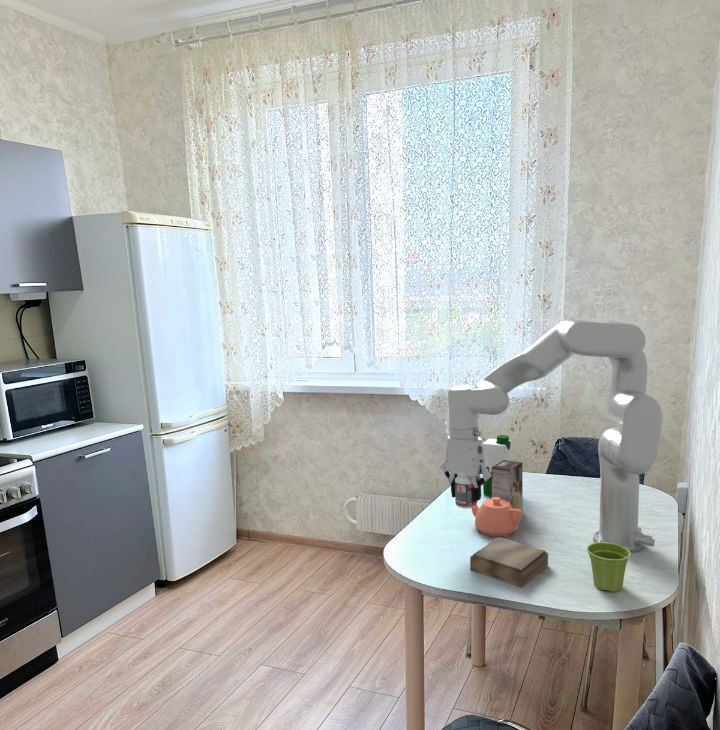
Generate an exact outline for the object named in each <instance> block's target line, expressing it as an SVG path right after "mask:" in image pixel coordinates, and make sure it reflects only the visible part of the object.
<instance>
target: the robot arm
mask: <svg viewBox="0 0 720 730" xmlns="http://www.w3.org/2000/svg"><path fill="white" fill-rule="evenodd" d="M646 341H647V339H646V335H645V332H644V331H643V330H642V328H640V327H639V326H637V325H635V324H632V323H627V322H626V323H625V322H621V321H605V322H595V321H586V320H581V319H580V320H579V319H566V320H562V321H561V322H560V323H557V324H556V325H555V326H554V327H553V328H551V329H550V330H549V331H548V332H546V334H544V335H543V336H541V337H540V338H539V339H538V340H537V341H535V342H534V343H533V344H531V345H530V346H529V347H528V348H526V349H525V350H524V351H522V352H520V353H519V354H518V355H515V356H514V357H512V358H511V359H509V360H507V361H506V362H504V363H503V364H501V365H499V366H498V367H496V368H495V369H494V370H492V371H491V372H490V373H489V374H487V375H486V376H484V378H483V379H481V380H480V381H478V383H477V384H476V386H474V387H473V386H470V385H455V386H452V387H450V388H449V389H448V392H447V401H448V402H447V403H448V405H447V407H448V429H449V430H448V432H449V436H448V437H447V440H446V446H445V448H446V449H445V461H444V462H443V463H441V465H440V467H439V468H440V470H441V471H442V472H443V474H444V476H445V477H446V478H447V480H448V482H449V483H450V492H451V498H452V499H453V498H454V499H455V478H456V477H457V474H458V472H463V473H464V475H465V476H468V477H471V480H472V483H473V486H474V487H473V488H472V501H473V502H477V503H478V501H480V500H481V499H482V486H483V484H484V483H485V482H486V481H487V480H488V479H489V478H490V477H491V476H492V475H491V473H490V472H489V471H488V469H487V468H486V462H485V453H484V447H483V443H484V442H483V440H482V438H481V436H482V435H483V431H482V430H480V429H479V420H478V419H479V417H478V415H488V416H496V415H501V414H503V413H504V412H505V411H506V410H508V408H509V405H510V398H509V394H508V393H510V392H511V391H512V390H514V389H515V388H517V387H519V386H521V385H523V384H525V383H528V382H534V381H538V380H541V379H542V378H546V377H547V376H549V374H551V373H552V372H553V371H555V370H556V369H557V368H558V367H560V365H562V364H563V363H564V362H566V361H567V360H569V359H570V358H571V357H572V356H574V355H578V356H582V357H583V356H584V357H585V356H586V357H595V358H596V357H597V358H608V360H609V361H610V365H611V380H610V388H609V395H608V402H607V412H608V416H610V418H611V419H612V420H613V421H615V422H616V423H617V424H620V425H621V427H620V426H614V427H610V428H608V429H606V430H605V431H604V432H603V433H602V434H601V435H600V437H599V439H598V445H597V446H598V447H597V451H598V459H599V468H600V471H599V472H600V473H599V474H600V482H599V483H600V487H599V490H600V491H599V530H598V531H597V530H596V531H595V532H594V533H593V536H592V540H593V543H598V542H606V543H613V544H617V545H620V546H623V547H625V548H627V549H628V550H629V551H630V553H634V552H638V551H640V550H642V549H643V548H644V546H645V545H646V546H648V547H651V548H654V546H655V542H656V541H655V539H654V538H653V535H650V534H649V535H648V534H644V533H643V532H642V527H639V506H640V505H639V501H640V495H639V494H640V475H643V474H646V473H647V472H649V471H650V470H651V469H652V468H653V467H654V466H655V463H656V461H657V458H658V457H657V456H658V453H659V447H660V442H661V441H660V440H661V433H662V426H663V425H662V424H663V412H662V409H661V406H660V404H659V402H658V400H657V399H655V398H654V397H652V396H651V395H649V394H647V384H648V383H647V382H648V362H647V357H646V355H645V354H646V353H645V352H644V349H645V346H646ZM481 474H482V476H481Z"/></svg>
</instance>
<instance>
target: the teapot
mask: <svg viewBox="0 0 720 730" xmlns="http://www.w3.org/2000/svg"><path fill="white" fill-rule="evenodd" d="M471 512H472V515H473V516H474V517H475V520H474V526H475V527H476V529H477V530H478V531H479V532H480V533H481V534H483V535H486V536H489V537H496V538H498V537H500V538H503V537H508V536H510V535H513V534H514V533H515V531H517V529H518V527H519V522H520V521H521V519H522V518H523V515H524V514H523V512H522V511H521V510H520V509H513V507H512V506H511V504H510V503H509V502H508V501H505V500H501V498H499V497H493V498H492V497H491V498H490V499H489V498H488V499H486V500H484V501H483V502H482V503H481V505H480V507H479V506H478V504H477V505H476V506H475V507H473V508H471ZM516 513H517V516H516Z"/></svg>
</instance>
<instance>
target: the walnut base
mask: <svg viewBox="0 0 720 730" xmlns="http://www.w3.org/2000/svg"><path fill="white" fill-rule="evenodd" d="M469 558H470V559H469V560H470V561H469V562H470V565H469V568H470V571H473V572H476V573H479V574H482V575H484V576H487V577H491V578H494V579H496V580H500V581H502V582H505V583H508V584H511V585H513V586H517V587H520V588H524V586H526V584H528V583H529V582H531V580H532V579H534V578H535V577H536V576H538V575H539V574H540V573H541V572H542V571H543V570H545V568H547V567H548V566H549V552H548V551H546V550H545V549H543V548H538V547H534V546H532V545H528V544H524V543H520V542H518V541H514V540H510V539H506V538H503V537H496V538H494V540H492V541H491V542H489V543H488V544H486V545H484V546H483V547H482V548H480V549H478V550H477V551H476V552H474V553H473V554H472V555H471V556H470V557H469Z"/></svg>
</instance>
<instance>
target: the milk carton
mask: <svg viewBox="0 0 720 730" xmlns="http://www.w3.org/2000/svg"><path fill="white" fill-rule="evenodd" d="M482 443H483V447H484V453H485V462H486V468H487V469H488V471H489V472H490V473H491V475H492V467H493V466H494V465H496V464H498V463H499V462H501V461H503V460H509V461H512V459H511V458H512V456H511V455H512V452H511V451H512V440H510V436H509V435H506V434H503V435H501V434H499V435H496V438H488V439H487V440H485V441H483V442H482ZM482 490H483V495H484V496H491V497H492V476H491V477H490V478H489V479H488V480H487V481H486V482H485V483H484V484H483V485H482Z"/></svg>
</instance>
